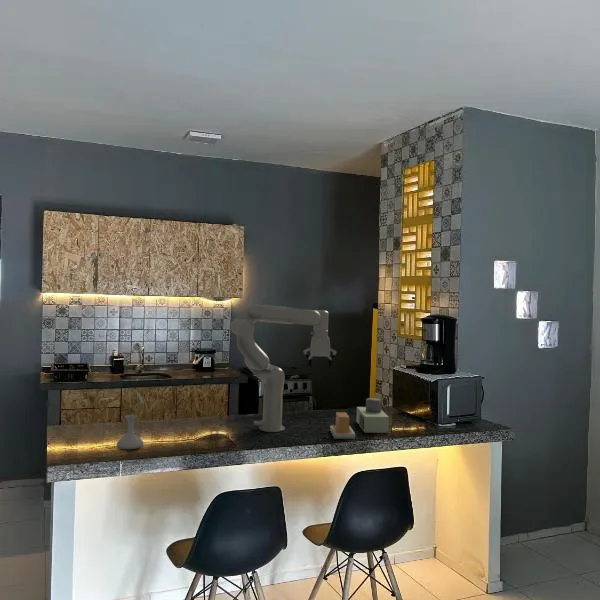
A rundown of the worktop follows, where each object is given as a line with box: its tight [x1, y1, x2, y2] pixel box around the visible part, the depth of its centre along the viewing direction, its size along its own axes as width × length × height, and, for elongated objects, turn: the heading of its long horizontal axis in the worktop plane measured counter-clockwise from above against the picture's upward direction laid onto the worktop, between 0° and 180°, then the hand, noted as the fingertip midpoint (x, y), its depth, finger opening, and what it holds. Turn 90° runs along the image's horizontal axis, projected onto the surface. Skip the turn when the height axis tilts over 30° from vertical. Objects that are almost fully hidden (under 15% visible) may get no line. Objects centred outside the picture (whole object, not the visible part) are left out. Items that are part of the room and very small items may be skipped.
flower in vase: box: [116, 388, 145, 450], centre depth 260 cm, size 13×11×25 cm
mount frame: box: [329, 425, 356, 440], centre depth 295 cm, size 10×16×2 cm, turn 4°
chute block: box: [335, 411, 351, 433], centre depth 295 cm, size 5×11×9 cm, turn 4°
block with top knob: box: [356, 397, 390, 434], centre depth 313 cm, size 13×24×14 cm, turn 5°
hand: (319, 367), depth 313 cm, fingers open, 9 cm apart
